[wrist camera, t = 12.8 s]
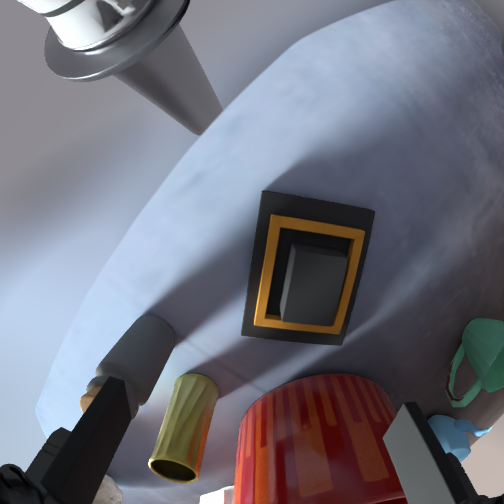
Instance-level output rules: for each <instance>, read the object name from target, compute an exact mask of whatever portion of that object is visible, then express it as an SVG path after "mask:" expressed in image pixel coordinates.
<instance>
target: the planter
mask: <svg viewBox="0 0 504 504" xmlns="http://www.w3.org/2000/svg"><path fill="white" fill-rule="evenodd" d="M397 414H398V413H397V411H396V410H395V408H394V406H393V404H392V402H391V400H390V398H389V397H388V395H387V393H386V392H385V391H384V389H383V388H382V387H381V386H380V385H378V384H377V383H376V382H374V381H372V380H370V379H368V378H365V377H362V376H358V375H353V374H344V373H329V374H321V375H314V376H309V377H305V378H301V379H298V380H294V381H291V382H288V383H286V384H284V385H281V386H279V387H277V388H275V389H273V390H271V391H270V392H268V393H266V394H264V395H263V396H262V397H261V398H259V399H258V400H257V401H255V402H254V403H253V404H252V405H251V407H250V408H249V409H248V410H247V411H246V413H245V414H244V416H243V417H242V420H241V423H240V425H239V435H238V445H237V456H236V467H235V478H234V489H233V501H232V504H408V501H407V499H406V496H405V493H404V491H403V488H402V485H401V483H400V480H399V477H398V475H397V472H396V470H395V467H394V465H393V462H392V460H391V457H390V455H389V452H388V450H387V447H386V445H385V442H384V440H383V437H384V435H385V434H386V432H387V430H388V429H389V427H390V426H391V424H392V422H393V421H394V419H395V417H396V416H397Z"/></svg>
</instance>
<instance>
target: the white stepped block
mask: <svg viewBox="0 0 504 504" xmlns="http://www.w3.org/2000/svg"><path fill="white" fill-rule="evenodd" d="M233 489H234V485H233V486H228V487H225V488H222V489H220V490H219V491H216V492H212V493H209V494H206V495H202V496H201V497H200V504H232V501H233Z"/></svg>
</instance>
